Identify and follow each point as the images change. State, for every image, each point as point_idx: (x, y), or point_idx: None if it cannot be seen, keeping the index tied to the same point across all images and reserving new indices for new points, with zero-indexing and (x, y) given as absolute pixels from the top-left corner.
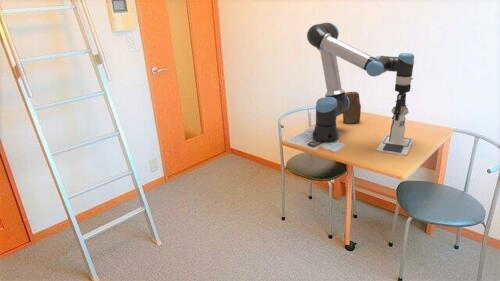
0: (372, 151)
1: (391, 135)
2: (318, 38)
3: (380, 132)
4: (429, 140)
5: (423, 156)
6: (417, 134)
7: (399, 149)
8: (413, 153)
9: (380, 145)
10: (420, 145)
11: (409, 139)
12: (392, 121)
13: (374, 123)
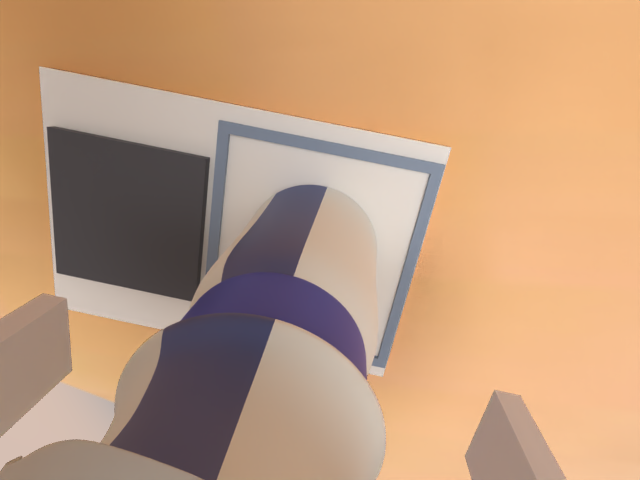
0: (28, 28)
1: (254, 220)
2: None
3: (602, 93)
4: (408, 465)
5: (101, 393)
6: (540, 414)
7: (99, 265)
8: (126, 345)
9: (159, 102)
10: None
11: (377, 351)
12: (238, 294)
13: None
